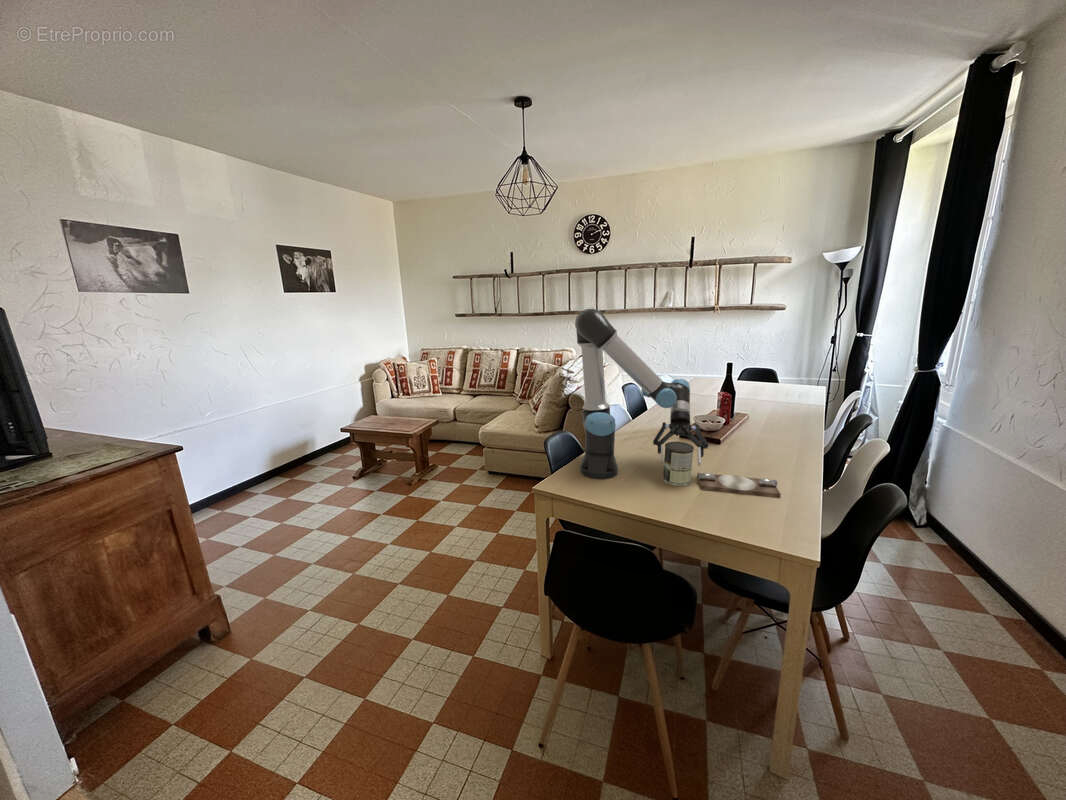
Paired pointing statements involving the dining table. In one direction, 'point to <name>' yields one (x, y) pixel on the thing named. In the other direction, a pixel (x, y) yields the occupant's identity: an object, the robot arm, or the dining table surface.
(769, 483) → the shaft stubs
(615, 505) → the dining table surface
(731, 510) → the dining table surface
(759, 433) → the dining table surface
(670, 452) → the coffee can
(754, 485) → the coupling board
